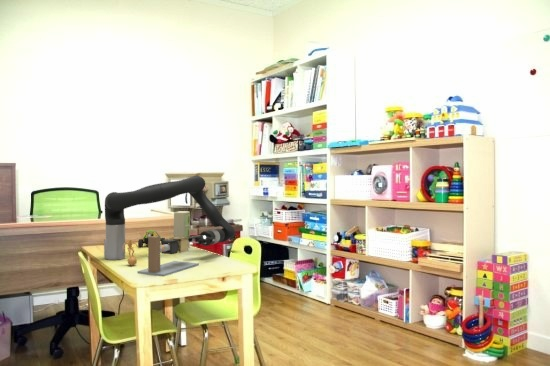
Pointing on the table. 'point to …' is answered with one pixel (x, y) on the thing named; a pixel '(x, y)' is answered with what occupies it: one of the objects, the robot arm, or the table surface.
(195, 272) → the table surface
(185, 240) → the sleeve
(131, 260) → the figurine
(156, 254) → the pipe rig
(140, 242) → the motor vehicle
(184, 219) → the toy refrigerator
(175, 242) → the dark grey slab
